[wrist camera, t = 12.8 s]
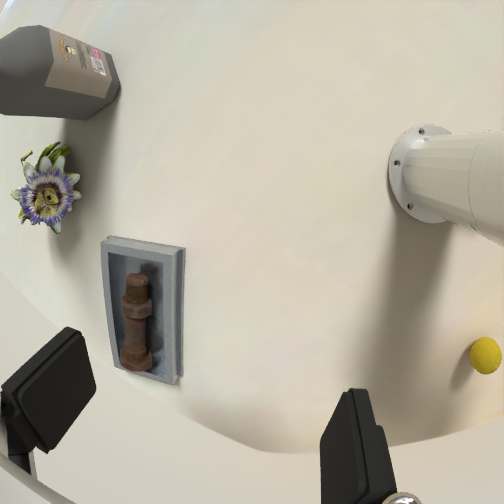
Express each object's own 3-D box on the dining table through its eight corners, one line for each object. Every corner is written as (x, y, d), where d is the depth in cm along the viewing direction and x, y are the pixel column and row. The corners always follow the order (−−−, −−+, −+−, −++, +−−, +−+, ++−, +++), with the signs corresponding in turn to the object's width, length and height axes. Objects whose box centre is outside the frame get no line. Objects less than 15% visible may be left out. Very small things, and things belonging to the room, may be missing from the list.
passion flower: (98, 189, 43) (68, 247, 36) (48, 183, 41) (16, 236, 34) (87, 132, 34) (44, 190, 27) (33, 131, 32) (-11, 184, 25)
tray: (185, 248, 38) (176, 255, 35) (183, 373, 45) (176, 385, 42) (110, 235, 39) (97, 241, 36) (120, 355, 46) (112, 366, 43)
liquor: (111, 47, 30) (-56, -12, 2) (126, 94, 33) (-76, 57, 4) (67, 81, 32) (-96, 63, 4) (80, 127, 35) (-105, 137, 6)
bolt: (153, 268, 41) (149, 350, 45) (119, 266, 38) (120, 350, 43) (157, 286, 36) (153, 373, 40) (118, 285, 34) (121, 373, 38)
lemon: (488, 344, 37) (508, 369, 29) (464, 360, 38) (483, 388, 31) (485, 323, 36) (508, 348, 28) (461, 340, 37) (482, 368, 30)
